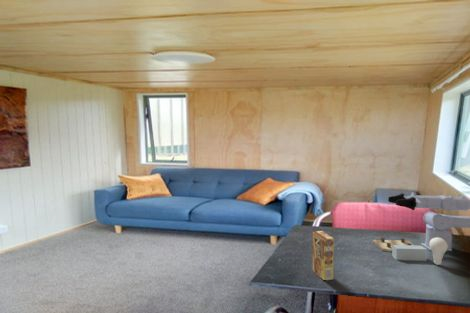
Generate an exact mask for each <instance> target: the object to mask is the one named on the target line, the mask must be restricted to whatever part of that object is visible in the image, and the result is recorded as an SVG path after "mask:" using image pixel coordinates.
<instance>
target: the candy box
mask: <svg viewBox="0 0 470 313" xmlns="http://www.w3.org/2000/svg"><path fill="white" fill-rule="evenodd" d="M334 242H335V238H334V237H333V236H330V235H329V234H327V233H326V232H325V231H323V230H316V231H312V271H313V272H314V273H315V275H317V276H318V277H319V278H320V279H321V278H322V279H323V280H326V281H331V280H334V261H335V259H334V253H335V250H334V249H335V247H334V246H335V244H334ZM322 279H321V280H322ZM323 280H322V281H323Z"/></svg>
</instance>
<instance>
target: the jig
mask: <svg viewBox="0 0 470 313" xmlns="http://www.w3.org/2000/svg"><path fill="white" fill-rule="evenodd" d="M372 243H374V244H375V245H376V247H378V249H380V251H382V252H391V253H392V247H393V245H412V246H416V244H415V245H414V243H412V242H410V241H409V240H406V239H405V238H404V237H401V238H400V240H399V239H385V238H384V237H380V239H372Z"/></svg>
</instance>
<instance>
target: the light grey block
mask: <svg viewBox="0 0 470 313" xmlns="http://www.w3.org/2000/svg"><path fill="white" fill-rule="evenodd" d="M391 256H392V257H393V259H394V260H396V261H419V262H420V261H423V262H424V261H425V262H427V260H428V248H426V247H425V246H423V245H415V246H412V245H393V247H392V252H391Z"/></svg>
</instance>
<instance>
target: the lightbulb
mask: <svg viewBox="0 0 470 313" xmlns="http://www.w3.org/2000/svg"><path fill="white" fill-rule="evenodd" d="M429 246H430V249H431V250H430V251H431V252H432V258H433V263H434V264H435V265H436V266H440V265H441V264H442V261H443V257H444V254H445V253H446V252H447V251H446V250H447V248H448V245H447V243H446V241H445V240H444V239H442V238H438V237H436V238H433V239H431V240H430V242H429Z"/></svg>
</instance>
